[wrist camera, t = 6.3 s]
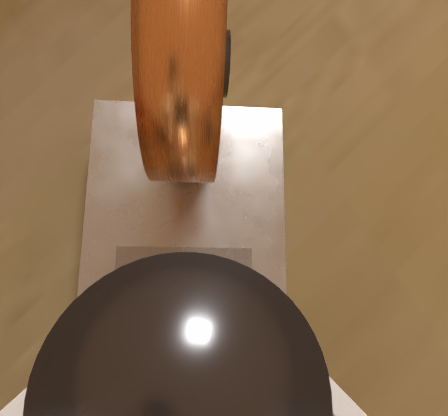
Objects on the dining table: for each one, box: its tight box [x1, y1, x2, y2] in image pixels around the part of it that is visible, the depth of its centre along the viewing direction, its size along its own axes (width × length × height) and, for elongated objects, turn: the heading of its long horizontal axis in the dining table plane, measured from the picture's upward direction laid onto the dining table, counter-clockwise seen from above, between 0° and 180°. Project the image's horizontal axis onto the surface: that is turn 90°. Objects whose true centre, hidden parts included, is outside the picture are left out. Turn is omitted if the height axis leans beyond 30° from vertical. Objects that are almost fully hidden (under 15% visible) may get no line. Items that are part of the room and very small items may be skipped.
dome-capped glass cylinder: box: [23, 252, 333, 416], centre depth 12 cm, size 5×5×12 cm
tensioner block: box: [77, 0, 287, 297], centre depth 16 cm, size 20×12×18 cm, turn 179°
